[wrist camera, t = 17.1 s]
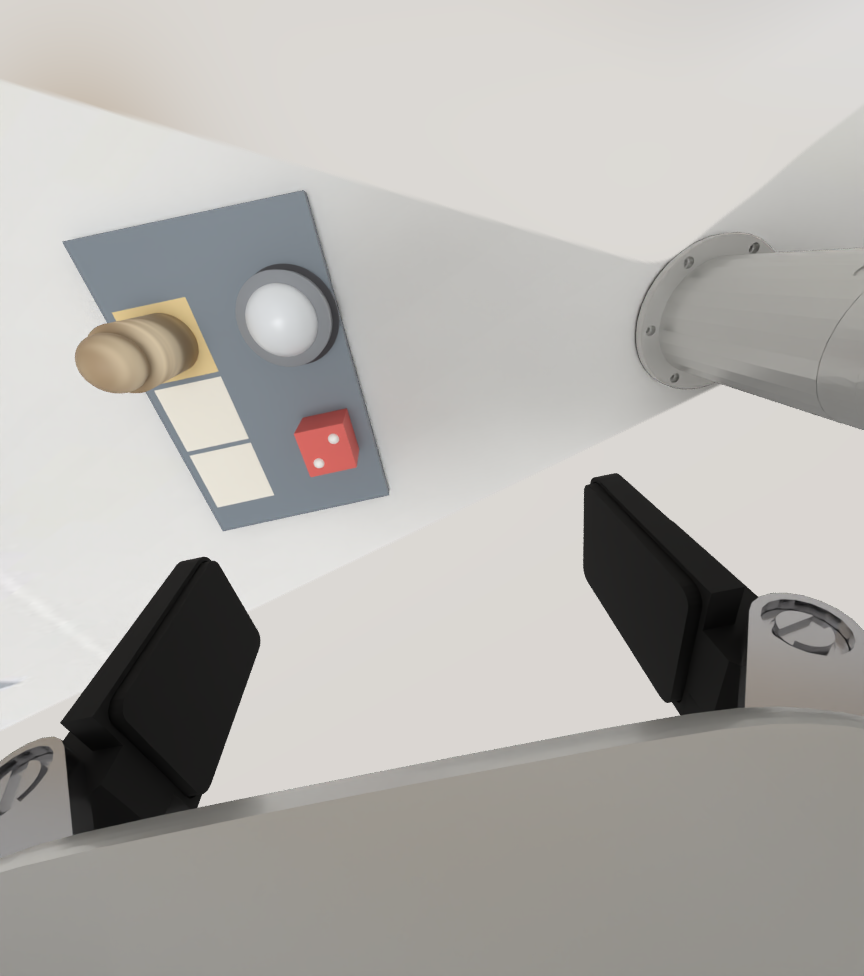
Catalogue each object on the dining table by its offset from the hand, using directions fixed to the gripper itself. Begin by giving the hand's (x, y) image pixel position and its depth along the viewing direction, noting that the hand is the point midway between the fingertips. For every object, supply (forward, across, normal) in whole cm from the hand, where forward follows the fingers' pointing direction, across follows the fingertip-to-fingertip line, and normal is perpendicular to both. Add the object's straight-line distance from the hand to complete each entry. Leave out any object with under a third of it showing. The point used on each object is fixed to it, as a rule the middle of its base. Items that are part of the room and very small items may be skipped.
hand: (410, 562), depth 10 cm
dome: (+25, +7, -5) cm, 27 cm away
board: (+28, +12, 0) cm, 30 cm away
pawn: (+26, +17, -5) cm, 32 cm away
